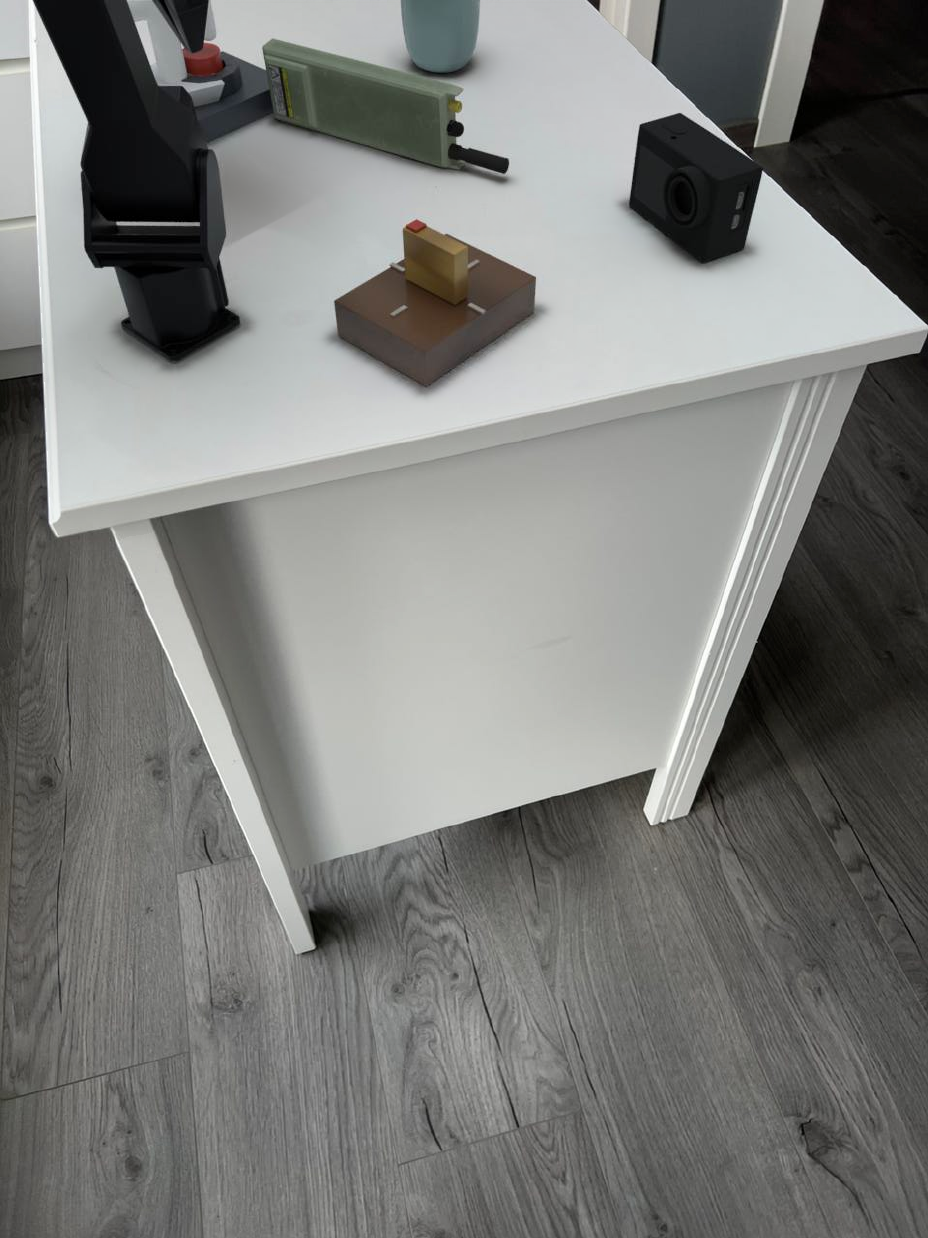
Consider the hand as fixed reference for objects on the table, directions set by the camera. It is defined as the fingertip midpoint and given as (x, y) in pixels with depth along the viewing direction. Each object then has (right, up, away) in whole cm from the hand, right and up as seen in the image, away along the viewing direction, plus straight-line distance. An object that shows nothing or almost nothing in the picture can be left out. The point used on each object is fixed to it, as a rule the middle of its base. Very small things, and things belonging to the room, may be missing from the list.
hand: (194, 50), depth 77 cm
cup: (+18, +13, +26) cm, 34 cm away
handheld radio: (+14, 0, +15) cm, 21 cm away
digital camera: (+39, -11, +6) cm, 41 cm away
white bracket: (-6, +10, +11) cm, 16 cm away
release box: (-4, +6, +20) cm, 21 cm away
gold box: (+19, -20, -4) cm, 28 cm away
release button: (-4, +8, +17) cm, 19 cm away
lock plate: (+19, -22, -2) cm, 29 cm away
